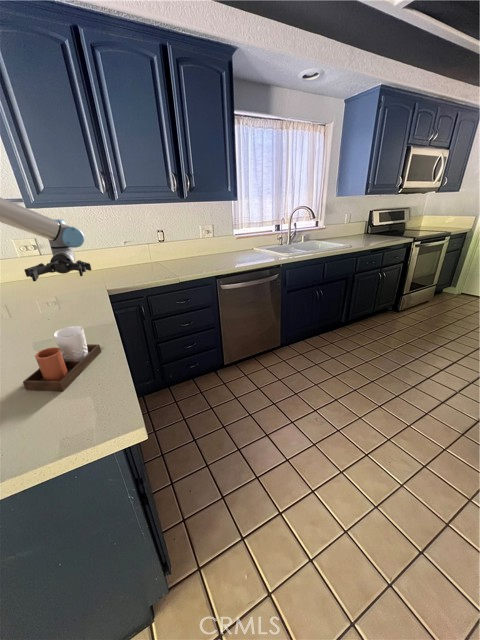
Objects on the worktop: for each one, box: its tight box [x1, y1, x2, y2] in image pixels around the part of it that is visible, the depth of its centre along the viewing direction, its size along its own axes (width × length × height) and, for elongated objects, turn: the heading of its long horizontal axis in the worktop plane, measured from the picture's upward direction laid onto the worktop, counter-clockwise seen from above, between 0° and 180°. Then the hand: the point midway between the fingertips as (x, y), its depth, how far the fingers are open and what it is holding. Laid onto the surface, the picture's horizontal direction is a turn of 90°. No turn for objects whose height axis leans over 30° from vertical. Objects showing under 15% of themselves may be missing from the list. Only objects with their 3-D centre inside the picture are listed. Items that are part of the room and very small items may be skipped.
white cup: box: [53, 325, 88, 361], centre depth 83 cm, size 8×8×10 cm
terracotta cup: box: [34, 346, 68, 381], centre depth 75 cm, size 6×6×9 cm
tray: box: [22, 343, 102, 392], centre depth 81 cm, size 10×20×3 cm, turn 178°
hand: (57, 274), depth 90 cm, fingers open, 13 cm apart
